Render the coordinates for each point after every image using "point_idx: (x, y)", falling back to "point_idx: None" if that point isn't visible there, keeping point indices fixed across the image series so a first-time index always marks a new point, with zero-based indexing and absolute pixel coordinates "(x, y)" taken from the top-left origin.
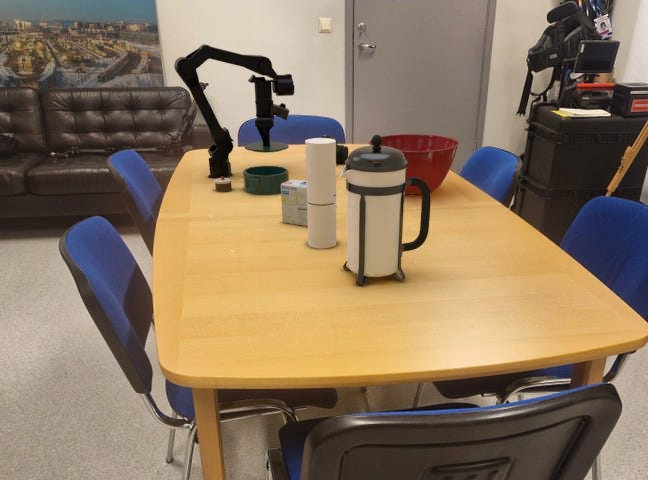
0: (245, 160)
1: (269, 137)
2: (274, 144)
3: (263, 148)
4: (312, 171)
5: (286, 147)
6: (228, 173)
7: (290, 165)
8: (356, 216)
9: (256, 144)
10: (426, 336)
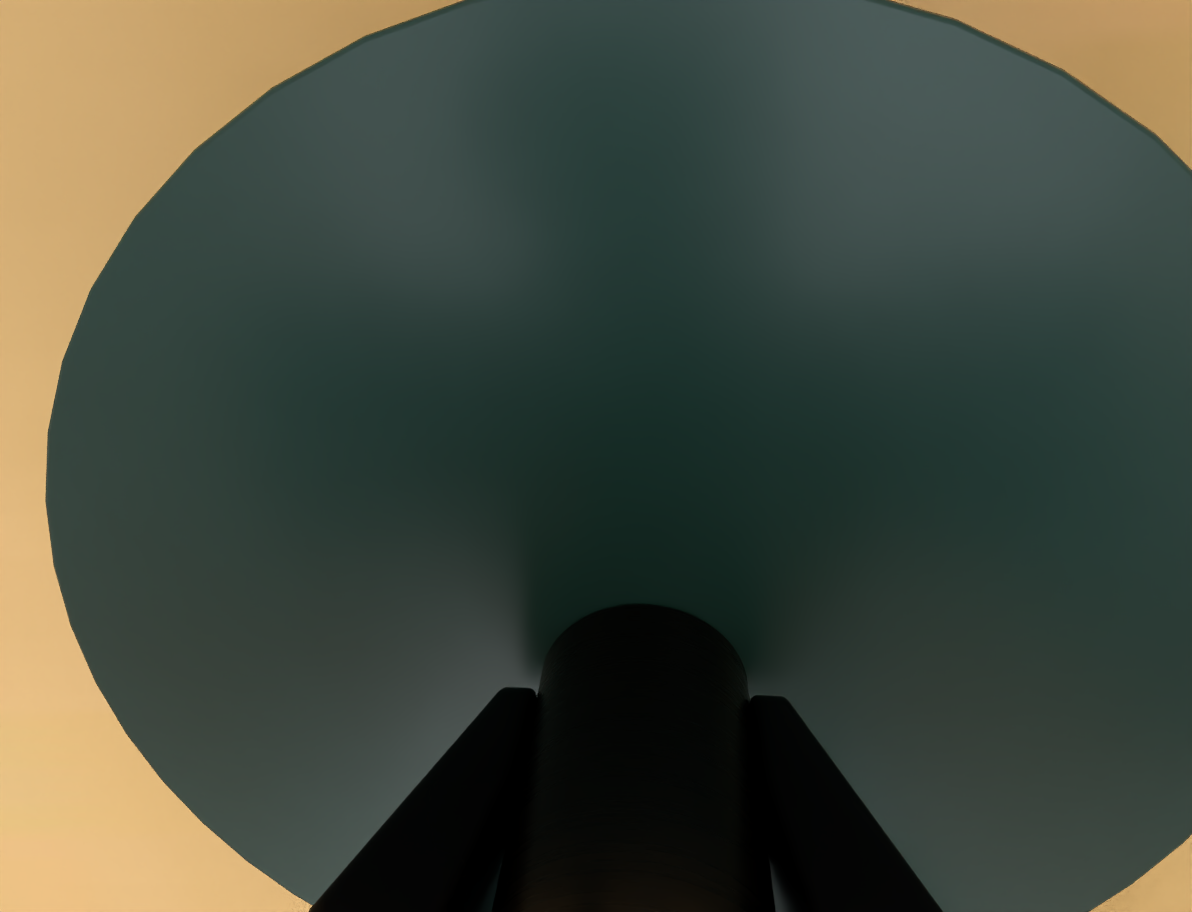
0: (3, 664)
1: (699, 829)
2: (427, 496)
3: (1002, 750)
4: None
5: (1025, 54)
6: None
7: (109, 23)
8: None
9: None
10: None
